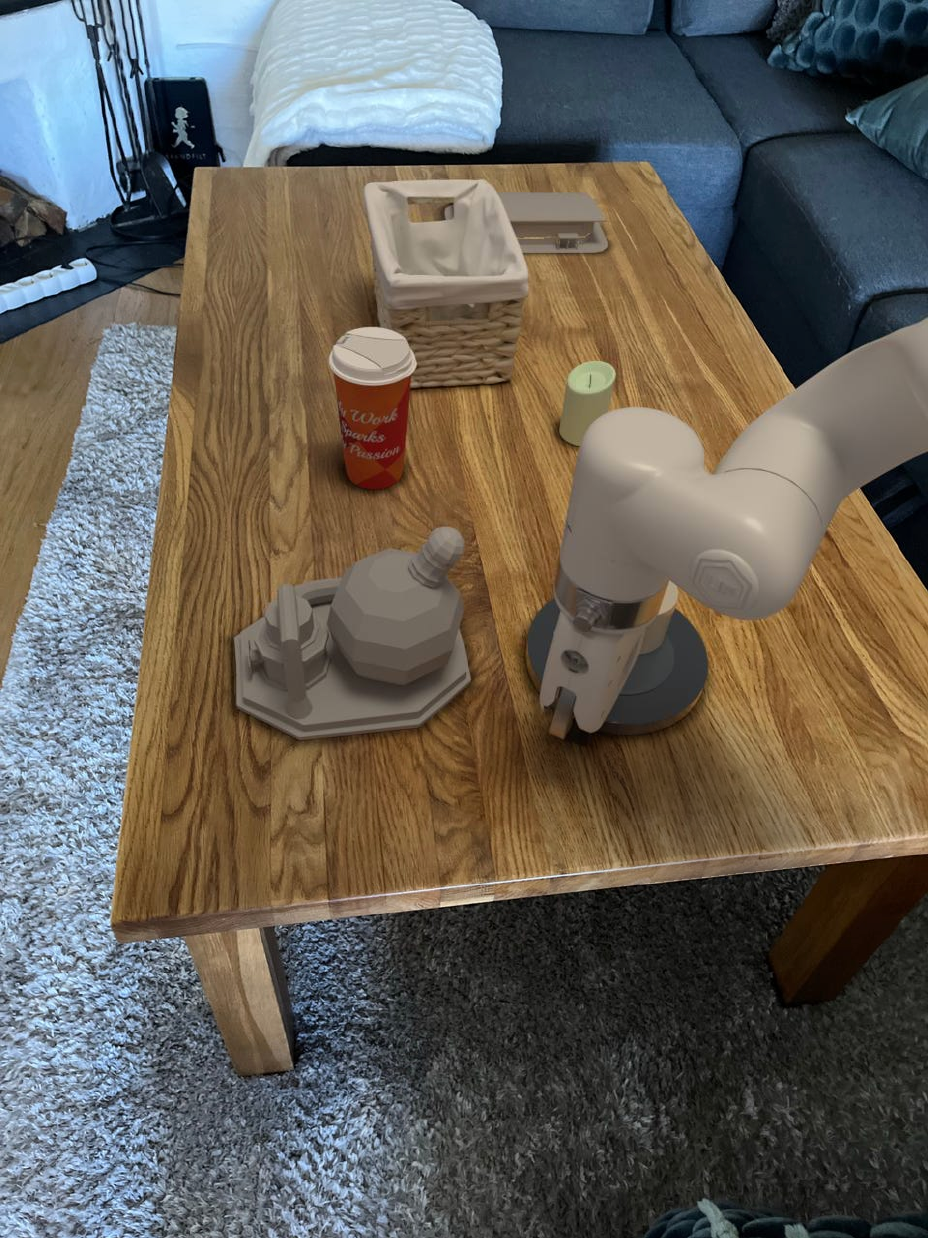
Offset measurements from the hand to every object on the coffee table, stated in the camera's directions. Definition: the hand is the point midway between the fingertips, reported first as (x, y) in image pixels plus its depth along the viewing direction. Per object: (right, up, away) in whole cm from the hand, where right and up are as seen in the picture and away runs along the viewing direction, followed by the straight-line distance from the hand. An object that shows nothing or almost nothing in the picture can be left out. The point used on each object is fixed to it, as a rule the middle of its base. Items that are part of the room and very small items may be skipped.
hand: (572, 732), depth 77 cm
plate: (+4, +6, +6) cm, 10 cm away
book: (0, +67, +61) cm, 90 cm away
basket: (-12, +44, +40) cm, 61 cm away
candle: (+4, +30, +28) cm, 42 cm away
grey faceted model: (-19, +6, +5) cm, 20 cm away
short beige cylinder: (+6, +9, +7) cm, 13 cm away
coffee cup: (-18, +25, +22) cm, 38 cm away
